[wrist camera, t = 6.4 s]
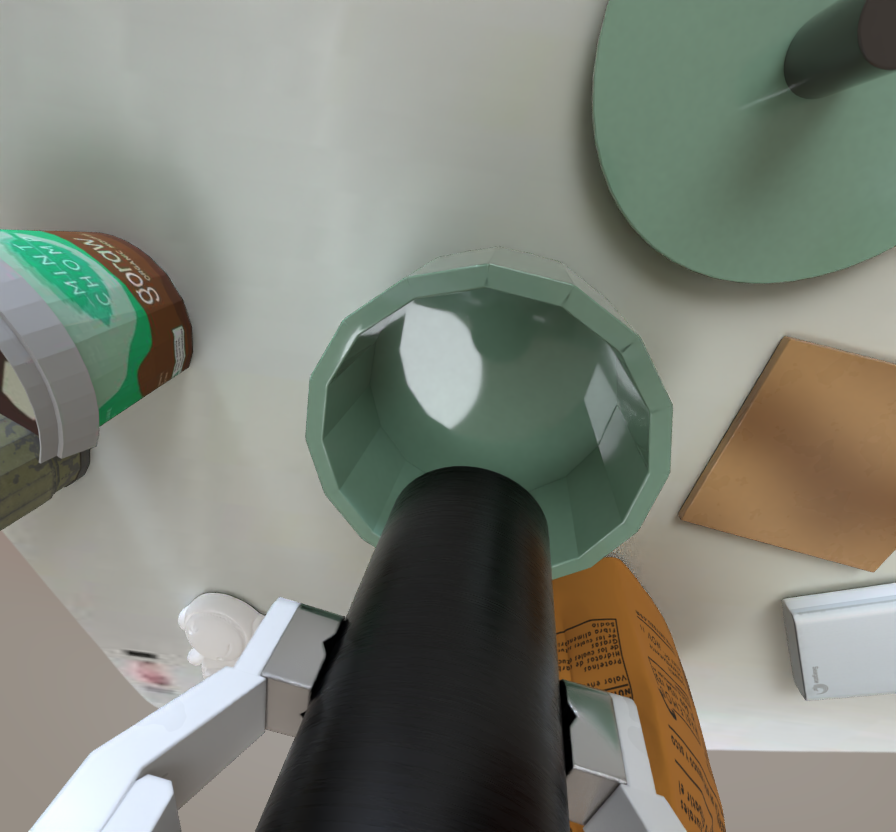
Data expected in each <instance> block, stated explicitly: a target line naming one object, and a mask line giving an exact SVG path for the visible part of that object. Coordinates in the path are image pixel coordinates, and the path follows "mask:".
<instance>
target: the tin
mask: <svg viewBox="0 0 896 832" xmlns="http://www.w3.org/2000/svg"><path fill="white" fill-rule="evenodd" d="M255 832H570V822H569V808H568V794H567V780H566V766H565V752H564V738H563V724H562V710H561V696H560V682H559V668H558V654H557V639H556V625H555V611H554V597H553V583H552V569H551V555H550V541H549V529H548V524H547V520H546V517H545V515H544V512H543V511H542V509H541V507H540V505H539V504H538V503H537V501H536V500H535V499H534V497H533V496H532V495H531V494H530V493H529V492H528V491H527V490H526V489H525V488H523V487H522V486H521V485H520V484H518V483H517V482H515V481H514V480H512V479H510V478H509V477H506V476H504V475H502V474H500V473H498V472H495V471H492V470H489V469H484V468H480V467H473V466H450V467H443V468H439V469H435V470H432V471H430V472H427V473H425V474H423V475H421V476H419V477H417V478H416V479H414V480H413V481H412V482H410V483H409V484H408V485H407V486H406V487H405V488H404V489H403V490H402V491H401V493H400V494H399V496H398V497H397V499H396V501H395V503H394V506H393V508H392V510H391V513H390V515H389V517H388V520H387V522H386V524H385V527H384V529H383V532H382V534H381V536H380V539H379V541H378V543H377V546H376V548H375V550H374V553H373V555H372V557H371V560H370V562H369V564H368V567H367V569H366V572H365V574H364V576H363V579H362V581H361V583H360V586H359V588H358V590H357V593H356V595H355V597H354V600H353V602H352V604H351V607H350V609H349V612H348V614H347V616H346V619H345V622H344V624H343V626H342V629H341V631H340V633H339V636H338V638H337V641H336V643H335V645H334V648H333V650H332V652H331V654H330V656H329V659H328V661H327V663H326V666H325V669H324V671H323V674H322V676H321V678H320V681H319V683H318V685H317V688H316V690H315V692H314V695H313V697H312V699H311V702H310V704H309V706H308V708H307V710H306V713H305V715H304V717H303V720H302V722H301V724H300V727H299V729H298V732H297V734H296V736H295V739H294V741H293V743H292V746H291V748H290V750H289V753H288V755H287V758H286V760H285V762H284V764H283V767H282V769H281V772H280V774H279V776H278V779H277V781H276V783H275V786H274V788H273V790H272V793H271V795H270V797H269V800H268V802H267V805H266V807H265V809H264V812H263V814H262V816H261V819H260V821H259V823H258V826H257V828H256V830H255Z"/></svg>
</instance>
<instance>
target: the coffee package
mask: <svg viewBox="0 0 896 832" xmlns="http://www.w3.org/2000/svg"><path fill="white" fill-rule="evenodd" d="M552 583H553V597H554V611H555V625H556V639H557V654H558V668H559V680H561V679H564V680H568V681H572V682H576V683H579V684H583V685H587V686H590V687H594V688H598V689H601V690H605V691H607V692H610V693H613V694H617V695H621V696H624V697H628V698H630V699H632V700H633V701H634V703H635V704H636V706H637V710H638V715H639V719H640V723H641V728H642V732H643V737H644V741H645V746H646V750H647V754H648V759H649V763H650V768H651V772H652V777H653V781H654V785H655V790H656V794H658V795H661V796H664V797H665V799H666V800H667V802H668V803H669V805H670V806H671V808H672V809H673V811H674V812H675V814H676V816H677V817H678V819H679V820H680V822H681V823H682V825H683V826H684V828H685V829H686V831H687V832H726V829H725V822H724V816H723V810H722V805H721V802H720V798H719V794H718V791H717V787H716V784H715V781H714V777H713V774H712V771H711V767H710V763H709V759H708V755H707V750H706V746H705V742H704V738H703V734H702V731H701V727H700V723H699V719H698V716H697V712H696V709H695V706H694V702H693V699H692V696H691V692H690V689H689V685H688V682H687V679H686V676H685V673H684V670H683V667H682V664H681V662H680V659H679V656H678V653H677V651H676V648H675V645H674V642H673V639H672V636H671V633H670V631H669V629H668V627H667V624H666V622H665V620H664V618H663V616H662V615H661V613H660V612H659V610H658V608H657V607H656V605H655V604H654V602H653V601H652V599H651V598H650V596H649V595H648V594H647V592H646V591H645V590H644V589H643V587H642V586H641V585H640V583H639V582H638V580H637V579H636V578H635V576H634V575H633V574H632V572H631V571H630V570H629V569H628V568H627V567H626V565H625V564H624V563H623V562H622V561H621V560H620V559H617V558H613V557H604V558H603V559H601V560H600V561H599V562H597V563H596V564H595V565H593V566H592V567H591V568H588V569H585V570H582V571H579V572H576V573H573V574H570V575H566V576H563V577H560V578H557V579H554V580H552ZM569 822H570V832H584V830H583V827H584V826H583V825H580V824H577V823H574V822H571V821H569Z"/></svg>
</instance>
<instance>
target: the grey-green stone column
mask: <svg viewBox="0 0 896 832" xmlns="http://www.w3.org/2000/svg"><path fill="white" fill-rule="evenodd" d="M39 455H40V441H39V436H38V435H36V434H34V433H33V432H31V431H29V430H28V429H26V428H24V427H22V426H21V425H19V424H17V423H16V422H14V421H12V420H10V419H9V418H7V417H5V416H3V415H2V414H0V531H1V530H2V529H4V528H6V527H7V526H9V525H10V524H12V523H14V522H15V521H17V520H18V519H20V518H22V517H23V516H25V515H26V514H28V513H30V512H31V511H33V510H34V509H36V508H38V507H39V506H41V505H42V504H44V503H45V502H47V501H48V500H49V499H51V498H52V496H53V494H55V492H57V491H58V490H60V489H62V488H63V487H67V486H68V485H70V484H72V483H73V482H75V481H76V480H78V479H79V478H81V477H82V476H83V475H84V474H85V472H86V470H87V468H88V466H89V449H87V450H85V451H82V452H79V453H76V454H74V455H71V456H68V457H65V458H62V459H61V458H59V457H58V456H55V457H53V458H51V459H49V460H47V461H45V462H43V463H39Z"/></svg>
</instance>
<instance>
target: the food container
mask: <svg viewBox="0 0 896 832" xmlns="http://www.w3.org/2000/svg"><path fill="white" fill-rule="evenodd" d="M192 353H193V344H192V326H191V323H190V320H189V317H188V314H187V311H186V308H185V305H184V302H183V299H182V298H181V296H180V295H179V293H178V291H177V290H176V288H175V287H174V285H173V283H172V282H171V280H170V279H169V277H168V275H167V274H166V273H165V272H164V271H163V270H162V269H161V268H160V267H159V266H158V265H157V264H156V263H155V262H154V261H153V260H152V259H151V258H150V257H149V256H148V255H147V254H145V253H144V252H143V251H141V250H140V249H139V248H137V247H136V246H134V245H132V244H130V243H129V242H127V241H125V240H123V239H120V238H118V237H115V236H113V235H108V234H104V233H97V232H68V231H34V230H1V229H0V414H2V415H3V416H5V417H7V418H9V419H10V420H12V421H14V422H16V423H17V424H19V425H21V426H22V427H24V428H26V429H28V430H29V431H31V432H33V433H34V434H36V435H38V436H39V441H40V455H39V463H43V462H45V461H47V460H49V459H51V458H53V457H55V456H58V457H59V458H61V459H62V458H65V457H68V456H71V455H74V454H76V453H79V452H82V451H85V450H87V449H90V448H93V447H96V446H97V441H98V435H99V427H100V426H101V425H103V424H104V423H106V422H107V421H109V420H110V419H112V418H113V417H115V416H116V415H118V414H119V413H121V412H122V411H124V410H125V409H127V408H128V407H130V406H131V405H133V404H134V403H136V402H137V401H139V400H140V399H142V398H143V397H145V396H146V395H148V394H149V393H151V392H152V391H154V390H155V389H157V388H158V387H160V386H161V385H163V384H164V383H166V382H167V381H169V380H170V379H172V378H173V377H175V376H176V375H178V374H179V373H181V372H182V371H184V370H185V369H187V368H188V367H189V364H190V360H191V357H192Z"/></svg>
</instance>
